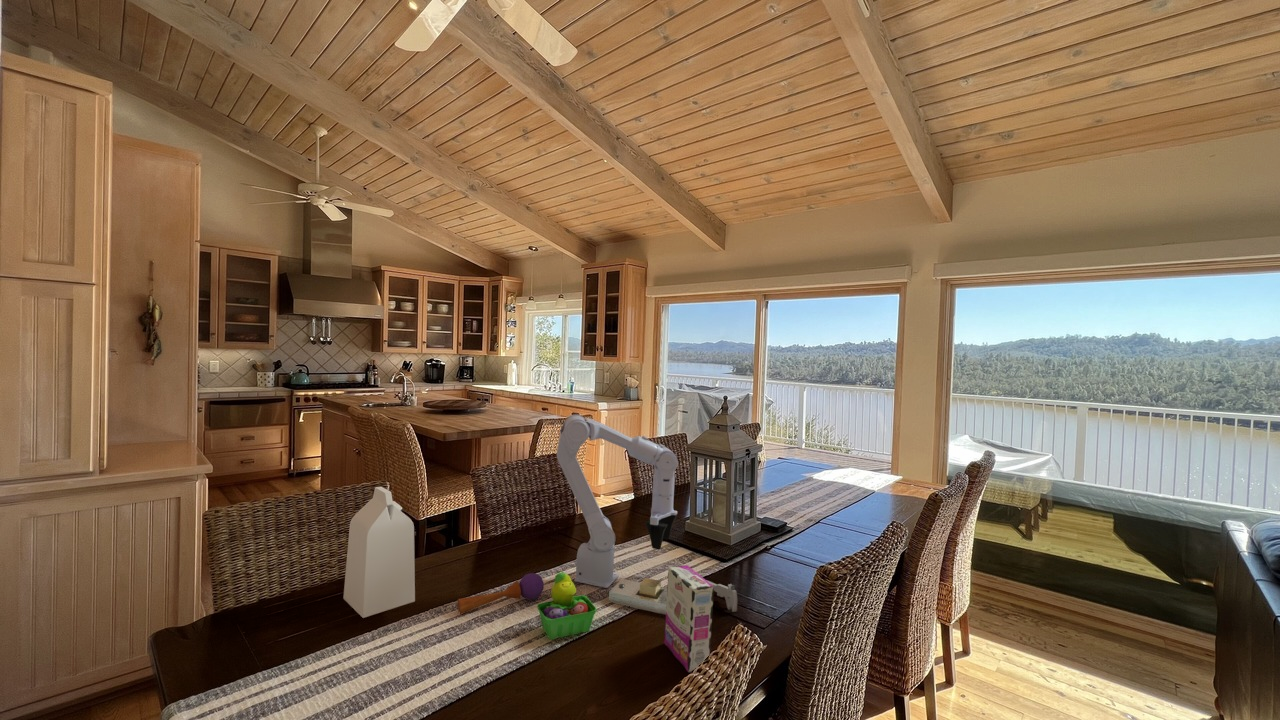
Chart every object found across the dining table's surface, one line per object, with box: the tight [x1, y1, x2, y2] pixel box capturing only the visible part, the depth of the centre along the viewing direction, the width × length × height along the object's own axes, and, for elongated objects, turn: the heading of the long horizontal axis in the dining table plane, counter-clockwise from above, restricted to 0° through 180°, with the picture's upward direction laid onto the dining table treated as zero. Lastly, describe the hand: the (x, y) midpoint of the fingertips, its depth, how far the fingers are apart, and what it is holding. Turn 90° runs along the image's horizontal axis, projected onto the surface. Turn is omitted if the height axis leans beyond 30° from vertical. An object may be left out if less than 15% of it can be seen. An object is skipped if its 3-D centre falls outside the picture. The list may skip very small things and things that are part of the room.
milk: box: [343, 486, 416, 619], centre depth 125 cm, size 12×12×26 cm
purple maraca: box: [456, 572, 545, 615], centre depth 126 cm, size 6×6×20 cm
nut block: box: [639, 577, 662, 599], centre depth 130 cm, size 4×4×5 cm
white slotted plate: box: [608, 578, 667, 616], centre depth 130 cm, size 18×8×3 cm, turn 70°
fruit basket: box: [537, 571, 598, 640], centre depth 117 cm, size 11×9×11 cm
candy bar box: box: [664, 564, 715, 673], centre depth 109 cm, size 11×5×16 cm, turn 23°
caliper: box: [705, 579, 738, 613], centre depth 136 cm, size 20×1×6 cm, turn 27°
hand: (660, 543), depth 144 cm, fingers open, 7 cm apart
